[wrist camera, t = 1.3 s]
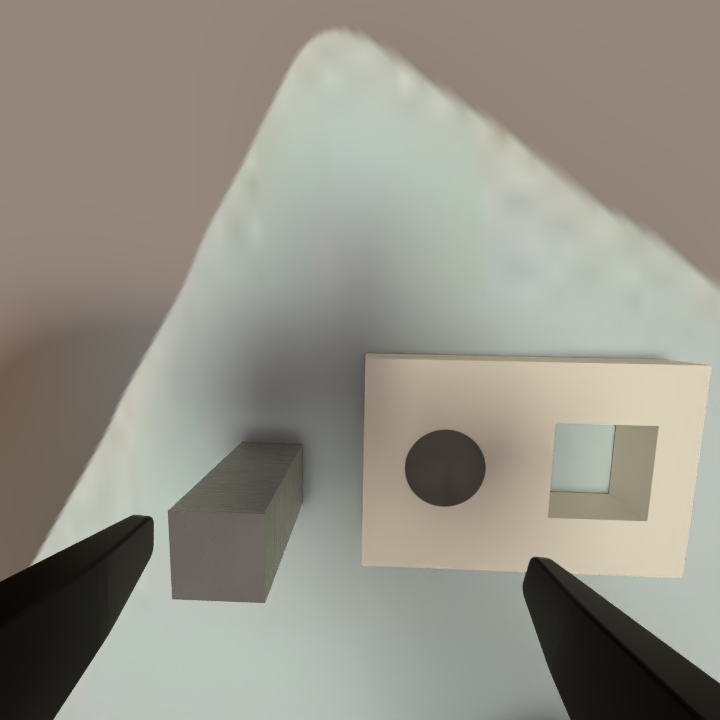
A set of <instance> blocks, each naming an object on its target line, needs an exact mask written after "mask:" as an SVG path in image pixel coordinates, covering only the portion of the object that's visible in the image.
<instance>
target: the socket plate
mask: <svg viewBox="0 0 720 720" xmlns="http://www.w3.org/2000/svg"><path fill="white" fill-rule="evenodd" d="M711 368H712V366H711V365H703V364H695V363H688V362H680V361H672V360H664V359H626V358H576V357H527V356H478V355H428V354H379V353H366V357H365V403H364V454H363V506H362V557H361V566H379V567H406V568H432V569H458V570H484V571H510V572H526V571H527V567H528V564H529V561H530V559H531V558H532V557H545V558H550V559H551V560H553V561H554V562H556V563H557V564H558V565H560V566H561V567H562V568H564V569H565V570H567V571H568V572H569V573H571V574H589V575H615V576H641V577H668V578H683V572H684V564H685V557H686V550H687V542H688V535H689V528H690V521H691V513H692V506H693V499H694V491H695V484H696V477H697V470H698V462H699V455H700V448H701V441H702V433H703V426H704V419H705V411H706V404H707V397H708V390H709V382H710V375H711ZM556 423H558V424H596V425H616V431H615V440H614V449H613V459H612V468H611V477H610V487H609V494H605V493H574V492H550V486H551V475H552V463H553V451H554V440H555V428H556Z"/></svg>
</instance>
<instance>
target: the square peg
mask: <svg viewBox="0 0 720 720" xmlns="http://www.w3.org/2000/svg"><path fill="white" fill-rule="evenodd" d="M302 503H303V444H284V443H248V442H241V443H240V444H239V445H238V446H237V447H236V448H235V449H234V450H233V451H232V452H231V453H230V454H229V455H227V456H226V457H225V458H224V459H223V460H222V461H221V462H220V463H219V464H218V465H217V466H216V467H215V468H214V469H212V470H211V471H210V472H209V473H208V474H207V475H206V476H205V477H204V478H203V479H202V480H201V481H200V482H198V483H197V484H196V485H195V486H194V487H193V488H192V489H191V490H190V491H189V492H188V493H187V494H186V495H185V496H183V497H182V498H181V499H180V500H179V501H178V502H177V503H176V504H175V505H174V506H173V507H172V508H171V509H170V510H168V522H169V542H170V562H171V582H172V599H181V600H206V601H230V602H254V603H265V602H266V599H267V596H268V594H269V591H270V588H271V586H272V583H273V580H274V578H275V575H276V572H277V570H278V567H279V564H280V562H281V559H282V556H283V554H284V551H285V548H286V546H287V543H288V540H289V538H290V535H291V532H292V530H293V527H294V524H295V522H296V519H297V516H298V514H299V511H300V508H301V506H302Z"/></svg>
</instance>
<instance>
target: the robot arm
mask: <svg viewBox="0 0 720 720" xmlns="http://www.w3.org/2000/svg"><path fill="white" fill-rule="evenodd" d="M153 545H154V522H153V518H152V517H150V516H143V515H132V516H130V517H128V518H126V519H124V520H122V521H120V522H118V523H116V524H114V525H112V526H110V527H108V528H106V529H104V530H102V531H100V532H98V533H96V534H94V535H92V536H90V537H88V538H86V539H84V540H82V541H80V542H78V543H76V544H74V545H72V546H70V547H68V548H66V549H64V550H62V551H60V552H58V553H56V554H54V555H52V556H50V557H48V558H46V559H44V560H42V561H40V562H38V563H36V564H34V565H32V566H30V567H28V568H26V569H25V570H22V571H20V572H19V573H16V574H14V575H12V576H10V577H9V578H7V579H5V580H3V581H1V582H0V720H53V719H54V718H55V716H56V715H57V713H58V712H59V710H60V709H61V707H62V706H63V704H64V703H65V701H66V699H67V698H68V696H69V695H70V693H71V692H72V690H73V689H74V687H75V686H76V684H77V683H78V681H79V680H80V678H81V676H82V675H83V673H84V672H85V670H86V669H87V667H88V666H89V664H90V663H91V661H92V660H93V658H94V657H95V655H96V653H97V652H98V650H99V649H100V647H101V646H102V644H103V643H104V641H105V639H106V638H107V636H108V635H109V633H110V631H111V629H112V628H113V626H114V624H115V622H116V621H117V619H118V617H119V615H120V613H121V611H122V609H123V608H124V606H125V604H126V602H127V600H128V598H129V597H130V595H131V593H132V591H133V589H134V587H135V585H136V584H137V582H138V580H139V578H140V576H141V574H142V572H143V571H144V569H145V567H146V565H147V563H148V561H149V559H150V557H151V555H152V552H153ZM523 594H524V598H525V601H526V604H527V607H528V609H529V612H530V615H531V618H532V621H533V624H534V627H535V630H536V633H537V636H538V639H539V642H540V645H541V648H542V650H543V653H544V656H545V659H546V662H547V665H548V667H549V670H550V673H551V675H552V677H553V680H554V682H555V685H556V687H557V689H558V692H559V694H560V696H561V699H562V701H563V703H564V706H565V708H566V710H567V713H568V715H569V717H570V720H720V683H718V682H717V681H716V680H714V679H713V678H712V677H710V676H709V675H708V674H706V673H705V672H704V671H702V670H701V669H699V668H698V667H697V666H695V665H694V664H693V663H691V662H690V661H689V660H687V659H686V658H685V657H683V656H682V655H680V654H679V653H678V652H676V651H675V650H674V649H672V648H671V647H670V646H668V645H667V644H666V643H664V642H663V641H661V640H660V639H659V638H657V637H656V636H655V635H653V634H652V633H651V632H649V631H648V630H647V629H645V628H644V627H642V626H641V625H640V624H638V623H637V622H636V621H634V620H633V619H632V618H630V617H629V616H628V615H626V614H625V613H623V612H622V611H621V610H619V609H618V608H617V607H615V606H614V605H613V604H611V603H610V602H609V601H607V600H606V599H605V598H603V597H602V596H600V595H599V594H598V593H596V592H595V591H594V590H592V589H591V588H590V587H588V586H587V585H586V584H584V583H583V582H581V581H580V580H579V579H577V578H576V577H575V576H573V575H572V574H571V573H569V572H568V571H567V570H565V569H564V568H562V567H561V566H560V565H558V564H557V563H556V562H554V561H553V560H551V559H550V558H545V557H532V558H531V559H530V561H529V564H528V567H527V571H526V574H525V578H524V581H523Z"/></svg>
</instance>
